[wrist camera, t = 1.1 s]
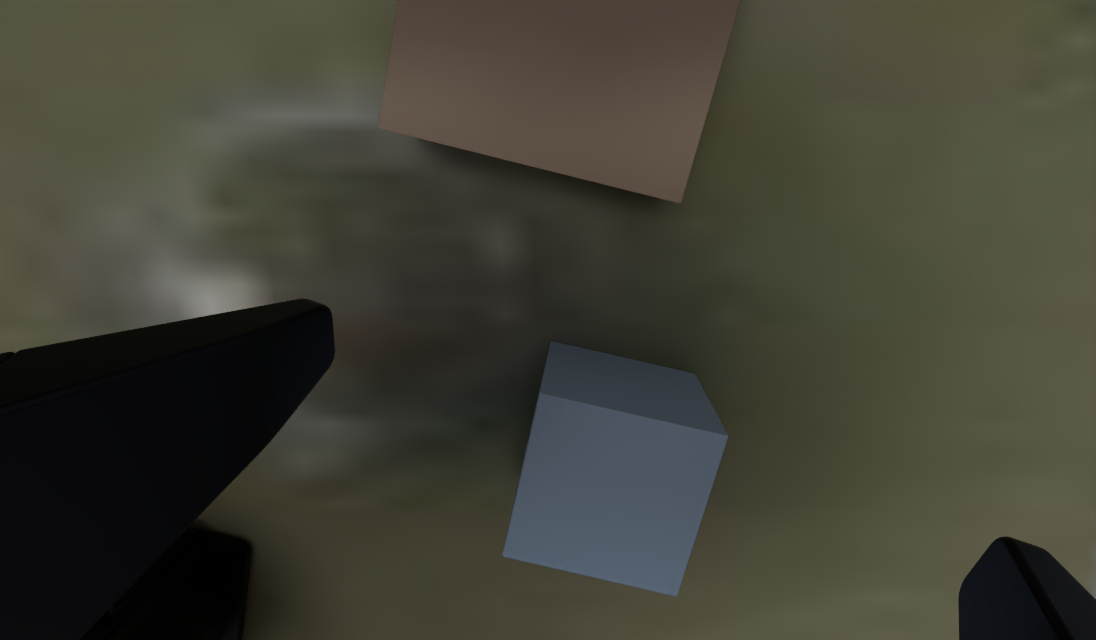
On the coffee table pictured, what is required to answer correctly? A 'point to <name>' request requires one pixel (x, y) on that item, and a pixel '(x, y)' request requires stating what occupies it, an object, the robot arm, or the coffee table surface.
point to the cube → (615, 470)
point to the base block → (562, 83)
